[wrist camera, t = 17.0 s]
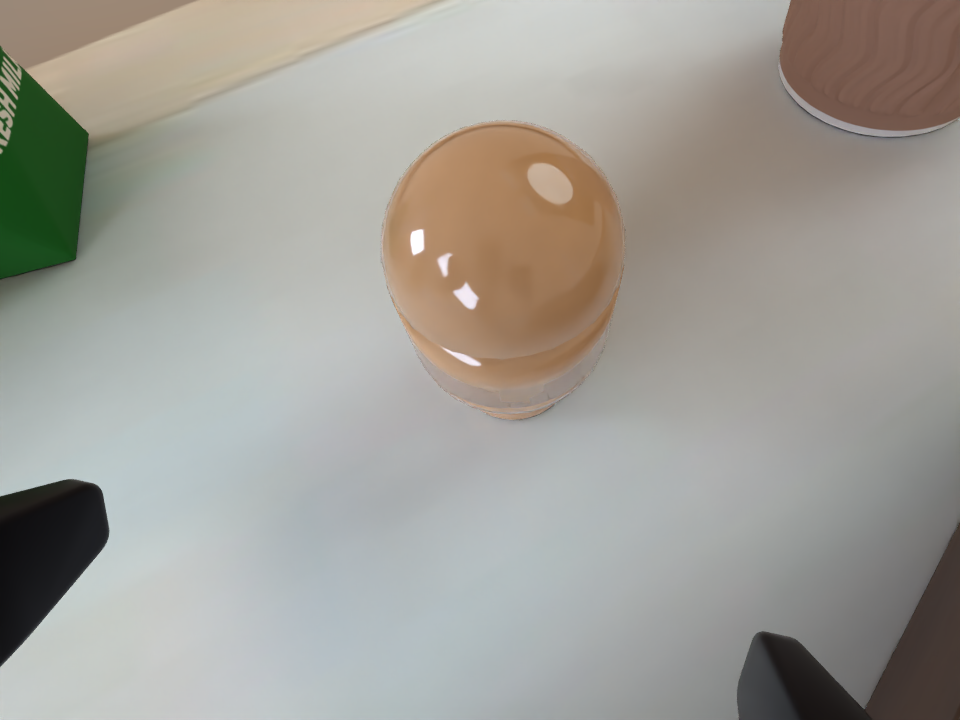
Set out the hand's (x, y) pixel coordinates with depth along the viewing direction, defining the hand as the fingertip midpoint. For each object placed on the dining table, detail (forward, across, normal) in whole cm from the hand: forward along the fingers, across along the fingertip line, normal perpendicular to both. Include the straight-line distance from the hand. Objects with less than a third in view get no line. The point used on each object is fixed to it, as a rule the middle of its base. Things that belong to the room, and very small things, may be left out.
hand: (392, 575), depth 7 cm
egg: (+11, 0, +1) cm, 11 cm away
